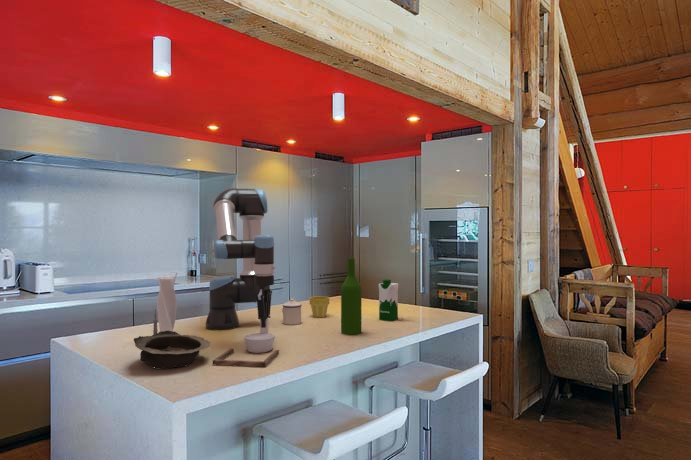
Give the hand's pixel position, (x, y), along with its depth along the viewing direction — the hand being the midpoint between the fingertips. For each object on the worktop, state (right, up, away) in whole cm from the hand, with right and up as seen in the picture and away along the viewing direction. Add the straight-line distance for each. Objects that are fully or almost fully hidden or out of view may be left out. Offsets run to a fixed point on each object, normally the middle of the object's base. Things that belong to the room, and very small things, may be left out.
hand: (264, 335), depth 174 cm
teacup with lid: (+5, -4, +43) cm, 43 cm away
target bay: (-3, -4, -18) cm, 18 cm away
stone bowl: (-27, -5, -21) cm, 35 cm away
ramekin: (-1, -4, -6) cm, 8 cm away
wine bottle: (+34, -4, +21) cm, 41 cm away
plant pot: (+18, -4, +58) cm, 61 cm away
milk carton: (+53, -4, +50) cm, 73 cm away
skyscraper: (-42, -5, +10) cm, 44 cm away
